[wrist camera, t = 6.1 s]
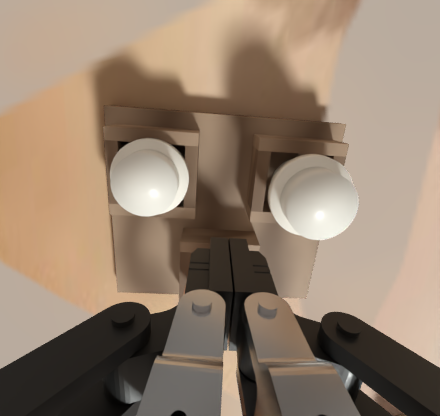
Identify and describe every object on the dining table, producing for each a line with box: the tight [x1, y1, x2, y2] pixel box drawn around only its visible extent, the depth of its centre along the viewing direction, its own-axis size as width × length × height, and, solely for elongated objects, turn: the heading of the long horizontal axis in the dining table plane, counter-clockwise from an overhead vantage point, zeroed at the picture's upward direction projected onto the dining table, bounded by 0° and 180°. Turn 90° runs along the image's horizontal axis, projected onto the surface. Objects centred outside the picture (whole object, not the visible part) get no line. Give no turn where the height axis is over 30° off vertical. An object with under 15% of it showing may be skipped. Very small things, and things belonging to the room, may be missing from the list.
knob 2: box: [268, 154, 359, 240], centre depth 20 cm, size 6×6×6 cm
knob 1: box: [110, 138, 189, 216], centre depth 22 cm, size 6×6×6 cm
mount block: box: [103, 106, 349, 300], centre depth 26 cm, size 21×19×4 cm
